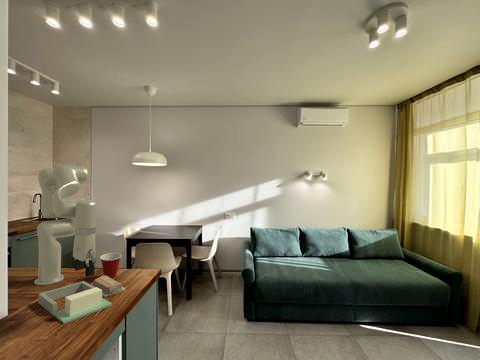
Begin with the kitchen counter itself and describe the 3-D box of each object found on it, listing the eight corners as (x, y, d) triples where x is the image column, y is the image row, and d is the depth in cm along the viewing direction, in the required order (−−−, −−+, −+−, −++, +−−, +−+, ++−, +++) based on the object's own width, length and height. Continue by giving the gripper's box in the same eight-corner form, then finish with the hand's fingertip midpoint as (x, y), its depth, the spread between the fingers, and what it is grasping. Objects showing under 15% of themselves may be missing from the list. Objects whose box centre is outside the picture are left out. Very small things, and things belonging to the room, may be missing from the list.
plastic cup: (101, 282, 133) (101, 259, 133) (97, 276, 141) (98, 254, 141) (123, 278, 139) (124, 256, 139) (118, 272, 148) (119, 251, 148)
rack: (38, 303, 109) (38, 293, 110) (83, 289, 124) (83, 281, 124) (52, 314, 100) (52, 304, 100) (99, 298, 115) (99, 289, 115)
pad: (53, 315, 100) (53, 313, 100) (100, 298, 114) (100, 297, 114) (63, 323, 94) (63, 321, 94) (111, 305, 109) (111, 303, 109)
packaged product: (126, 281, 124) (104, 288, 116) (125, 291, 124) (104, 298, 116) (109, 272, 135) (88, 278, 127) (108, 281, 135) (88, 287, 127)
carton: (64, 312, 101) (65, 296, 101) (96, 300, 111) (96, 287, 111) (70, 316, 98) (70, 300, 98) (101, 304, 108) (102, 290, 108)
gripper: (66, 229, 107) (65, 270, 107) (85, 235, 97) (84, 280, 97) (85, 227, 113) (84, 265, 113) (105, 232, 103) (104, 275, 103)
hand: (84, 272), depth 105 cm, fingers open, 9 cm apart
